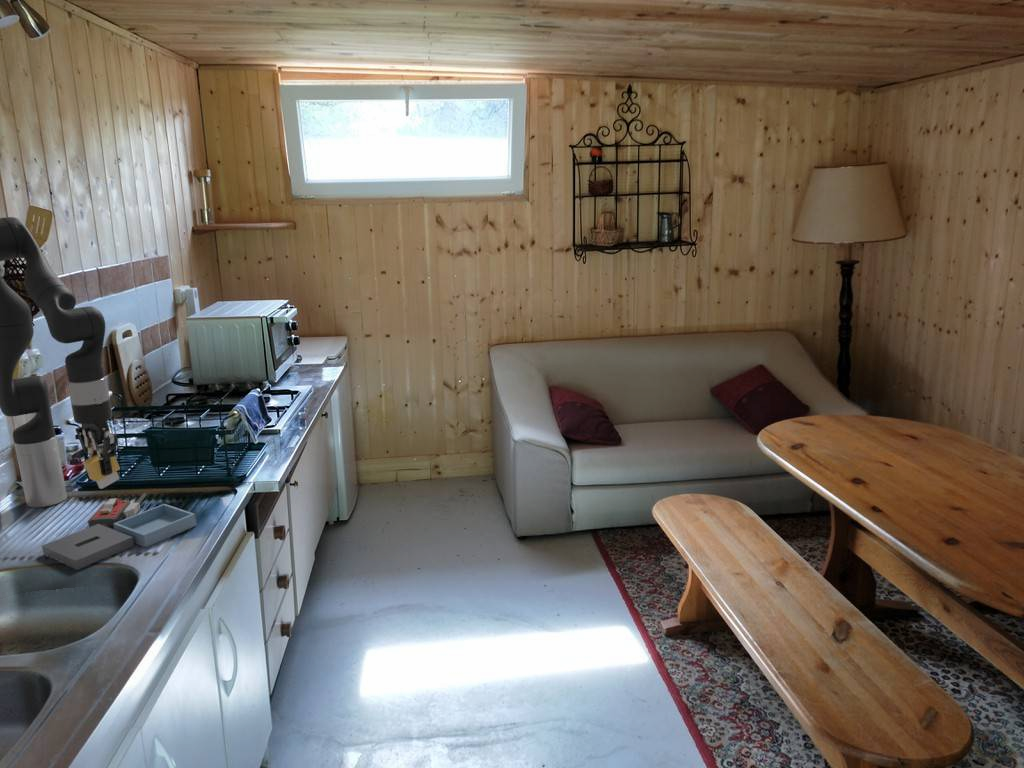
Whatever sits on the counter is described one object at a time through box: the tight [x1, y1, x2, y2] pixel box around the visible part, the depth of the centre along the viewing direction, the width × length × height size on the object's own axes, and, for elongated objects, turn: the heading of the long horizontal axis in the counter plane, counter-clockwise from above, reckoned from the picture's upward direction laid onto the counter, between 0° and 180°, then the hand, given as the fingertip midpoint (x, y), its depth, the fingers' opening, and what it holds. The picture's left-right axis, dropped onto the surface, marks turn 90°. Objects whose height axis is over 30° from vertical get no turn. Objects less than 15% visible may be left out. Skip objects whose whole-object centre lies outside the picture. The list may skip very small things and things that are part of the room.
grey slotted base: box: [41, 524, 135, 571], centre depth 176 cm, size 14×13×2 cm
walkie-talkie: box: [87, 492, 148, 530], centre depth 195 cm, size 9×4×20 cm
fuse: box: [82, 454, 121, 490], centre depth 175 cm, size 3×6×7 cm, turn 145°
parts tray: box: [113, 503, 197, 548], centre depth 185 cm, size 12×13×3 cm
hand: (103, 472), depth 175 cm, fingers closed on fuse, 2 cm apart
